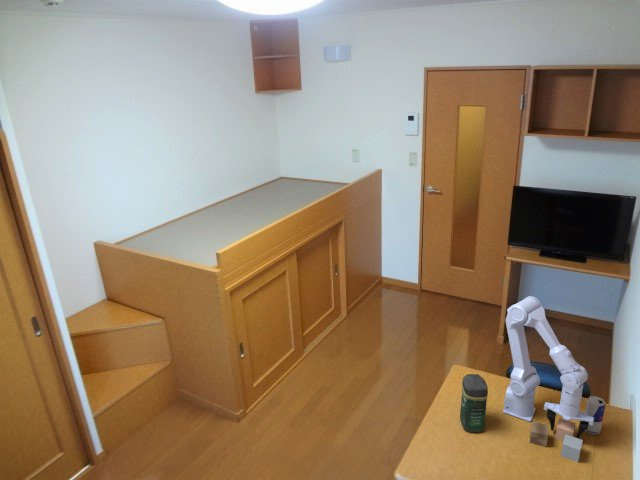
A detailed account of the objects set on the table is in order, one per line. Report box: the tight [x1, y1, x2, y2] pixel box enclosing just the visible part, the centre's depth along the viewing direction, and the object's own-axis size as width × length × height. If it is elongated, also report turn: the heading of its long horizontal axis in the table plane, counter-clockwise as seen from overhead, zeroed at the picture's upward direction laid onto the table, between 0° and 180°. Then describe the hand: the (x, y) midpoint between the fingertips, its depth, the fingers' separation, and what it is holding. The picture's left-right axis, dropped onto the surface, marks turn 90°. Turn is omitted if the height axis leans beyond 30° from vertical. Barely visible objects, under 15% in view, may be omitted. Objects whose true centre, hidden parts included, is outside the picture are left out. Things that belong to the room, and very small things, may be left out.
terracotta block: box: [554, 417, 577, 442], centre depth 162 cm, size 5×5×5 cm
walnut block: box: [529, 420, 549, 448], centre depth 161 cm, size 5×5×5 cm
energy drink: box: [584, 395, 606, 436], centre depth 163 cm, size 5×5×12 cm
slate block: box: [560, 434, 583, 463], centre depth 155 cm, size 5×5×5 cm
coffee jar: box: [459, 373, 489, 433], centre depth 167 cm, size 10×8×19 cm
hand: (565, 433), depth 162 cm, fingers open, 7 cm apart
